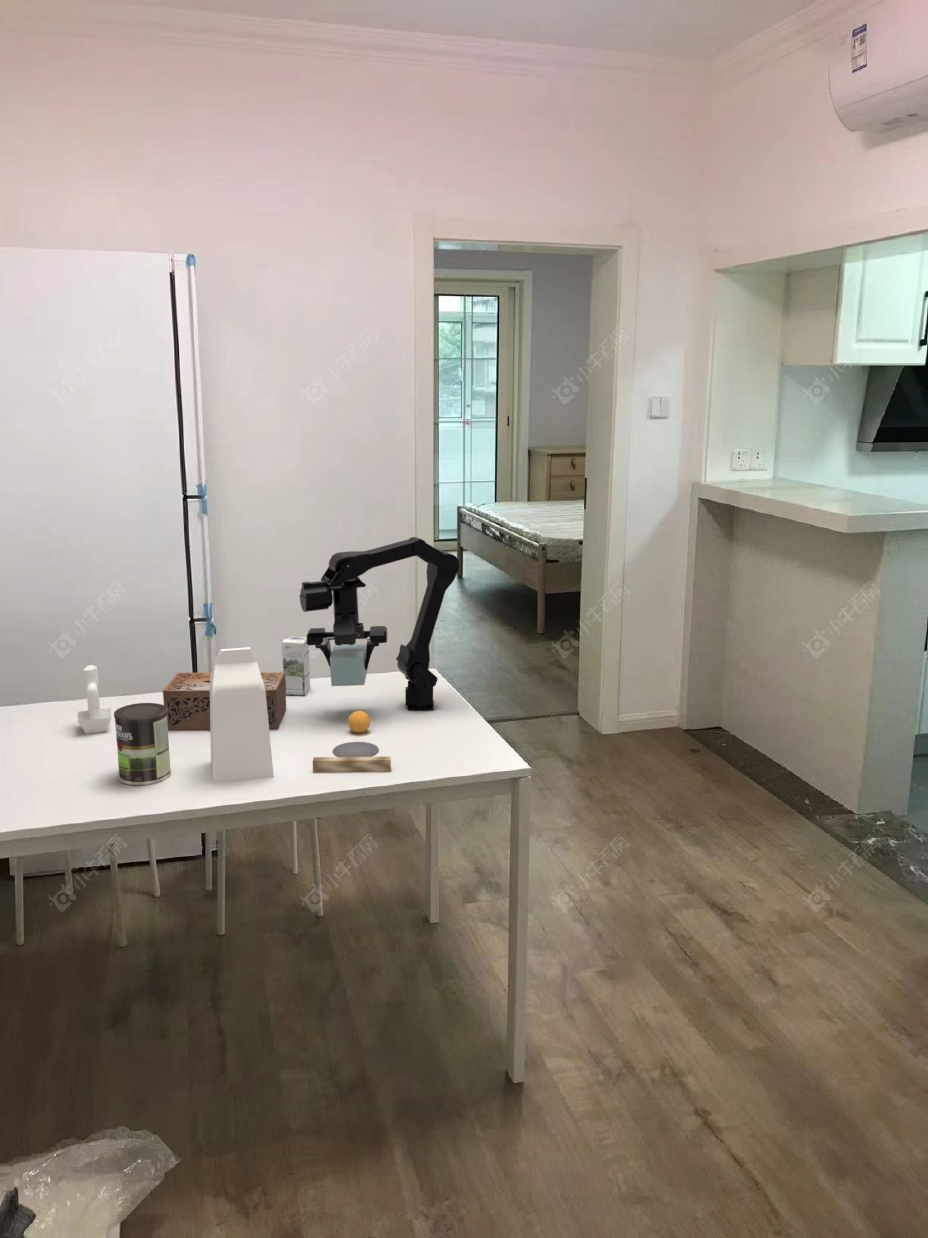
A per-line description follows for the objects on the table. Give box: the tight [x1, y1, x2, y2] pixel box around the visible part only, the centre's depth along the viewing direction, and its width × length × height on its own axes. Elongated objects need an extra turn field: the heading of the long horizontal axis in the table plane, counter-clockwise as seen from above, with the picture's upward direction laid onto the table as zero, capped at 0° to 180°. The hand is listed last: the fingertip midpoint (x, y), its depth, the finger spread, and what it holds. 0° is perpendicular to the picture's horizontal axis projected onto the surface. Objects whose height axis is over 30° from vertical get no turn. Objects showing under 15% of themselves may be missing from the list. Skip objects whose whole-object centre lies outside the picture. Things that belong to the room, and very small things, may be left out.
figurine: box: [77, 664, 112, 735], centre depth 229 cm, size 7×9×15 cm
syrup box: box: [281, 636, 311, 697], centre depth 257 cm, size 6×6×14 cm
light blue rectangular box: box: [329, 643, 368, 687], centre depth 238 cm, size 8×11×7 cm
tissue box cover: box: [162, 671, 287, 732], centre depth 237 cm, size 26×14×10 cm, turn 92°
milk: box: [210, 646, 274, 784], centre depth 205 cm, size 12×12×26 cm
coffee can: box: [113, 702, 172, 786], centre depth 203 cm, size 10×10×14 cm
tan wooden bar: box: [312, 756, 392, 773], centre depth 207 cm, size 16×2×2 cm, turn 92°
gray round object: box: [332, 741, 380, 757], centre depth 218 cm, size 10×10×1 cm
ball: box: [347, 710, 371, 734], centre depth 229 cm, size 5×5×5 cm
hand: (349, 670), depth 238 cm, fingers closed on light blue rectangular box, 8 cm apart
